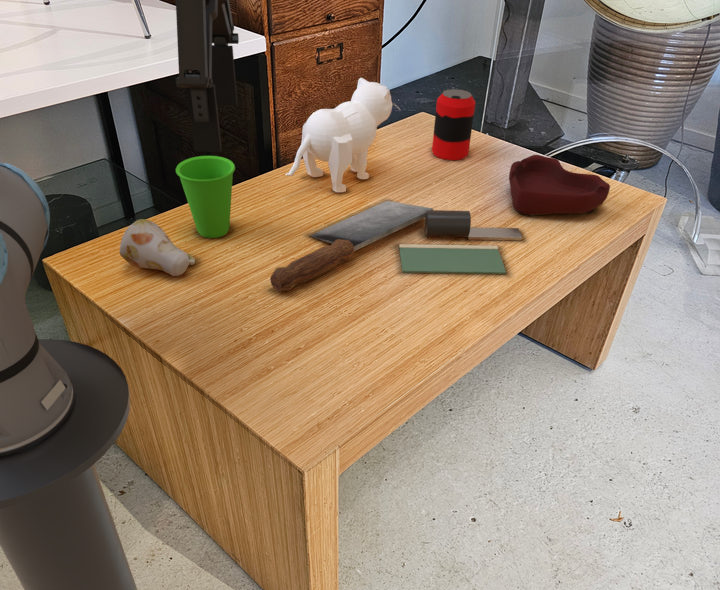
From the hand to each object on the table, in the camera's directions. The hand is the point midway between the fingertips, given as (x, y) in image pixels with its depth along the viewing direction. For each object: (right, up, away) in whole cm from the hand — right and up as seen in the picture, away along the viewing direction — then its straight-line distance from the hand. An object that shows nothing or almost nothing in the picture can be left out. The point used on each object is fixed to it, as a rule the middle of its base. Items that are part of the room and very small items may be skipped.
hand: (217, 126), depth 73 cm
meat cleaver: (+13, -7, +34) cm, 37 cm away
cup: (-8, -5, +36) cm, 37 cm away
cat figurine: (+12, +8, +52) cm, 54 cm away
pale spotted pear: (-14, -12, +27) cm, 33 cm away
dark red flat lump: (+49, +2, +47) cm, 68 cm away
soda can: (+34, +17, +63) cm, 74 cm away
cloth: (+30, -10, +31) cm, 44 cm away
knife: (+35, -5, +37) cm, 51 cm away
